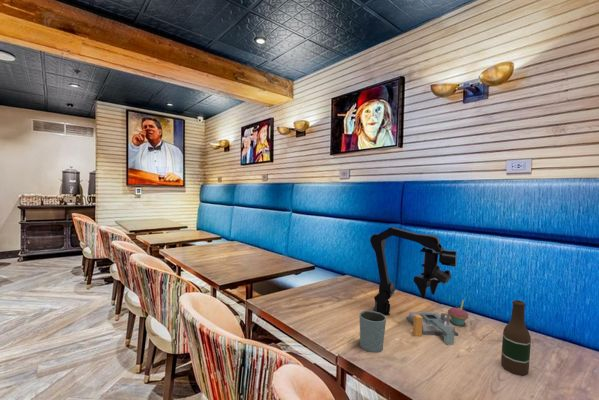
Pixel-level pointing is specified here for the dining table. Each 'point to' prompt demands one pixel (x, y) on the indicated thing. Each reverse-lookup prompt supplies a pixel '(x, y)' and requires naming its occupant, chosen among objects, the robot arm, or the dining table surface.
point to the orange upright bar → (417, 325)
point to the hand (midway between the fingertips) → (428, 296)
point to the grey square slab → (436, 325)
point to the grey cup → (372, 331)
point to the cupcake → (458, 315)
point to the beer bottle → (516, 342)
